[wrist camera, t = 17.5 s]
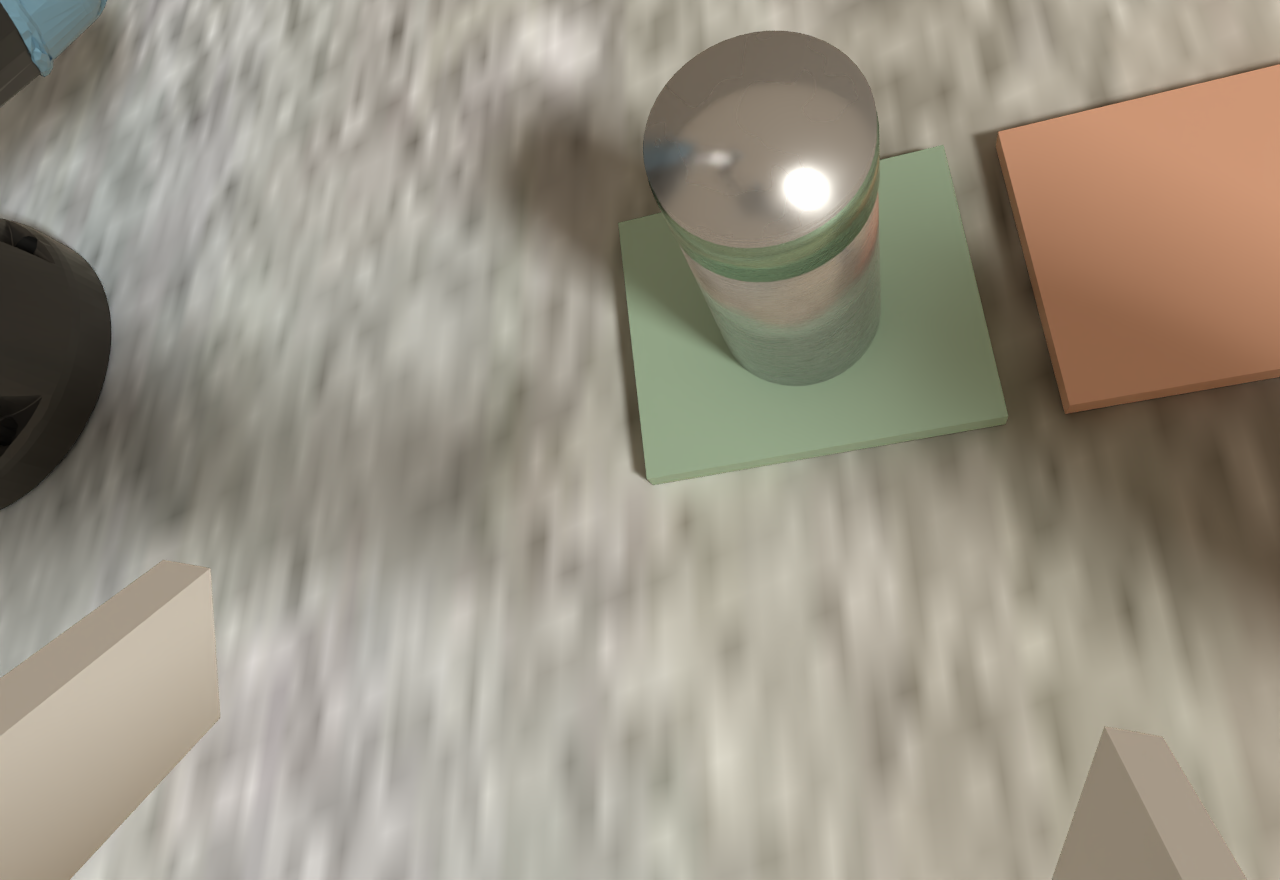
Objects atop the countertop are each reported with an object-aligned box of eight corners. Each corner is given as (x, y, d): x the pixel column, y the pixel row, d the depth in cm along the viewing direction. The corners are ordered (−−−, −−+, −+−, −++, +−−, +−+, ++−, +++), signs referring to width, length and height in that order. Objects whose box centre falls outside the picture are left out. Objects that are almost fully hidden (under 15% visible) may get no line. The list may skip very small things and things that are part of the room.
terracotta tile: (995, 146, 36) (998, 131, 35) (1377, 56, 33) (1391, 37, 32) (1065, 414, 32) (1069, 405, 32) (1496, 339, 30) (1515, 327, 29)
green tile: (624, 234, 39) (618, 222, 38) (942, 159, 36) (943, 144, 35) (653, 485, 36) (646, 479, 35) (1005, 424, 33) (1008, 415, 32)
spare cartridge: (708, 256, 36) (628, 65, 25) (864, 220, 35) (853, 1, 24) (731, 401, 35) (656, 265, 24) (897, 369, 33) (901, 208, 22)
